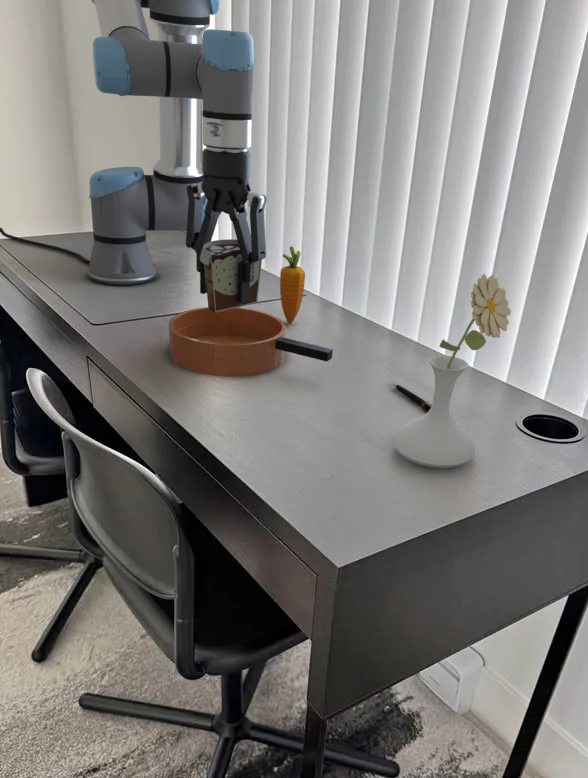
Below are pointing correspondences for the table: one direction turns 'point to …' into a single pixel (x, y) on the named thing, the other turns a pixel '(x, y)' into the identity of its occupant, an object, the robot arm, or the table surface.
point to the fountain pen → (414, 398)
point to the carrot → (291, 286)
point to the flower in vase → (436, 428)
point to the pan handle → (304, 349)
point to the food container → (226, 275)
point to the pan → (226, 341)
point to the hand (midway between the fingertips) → (224, 295)
